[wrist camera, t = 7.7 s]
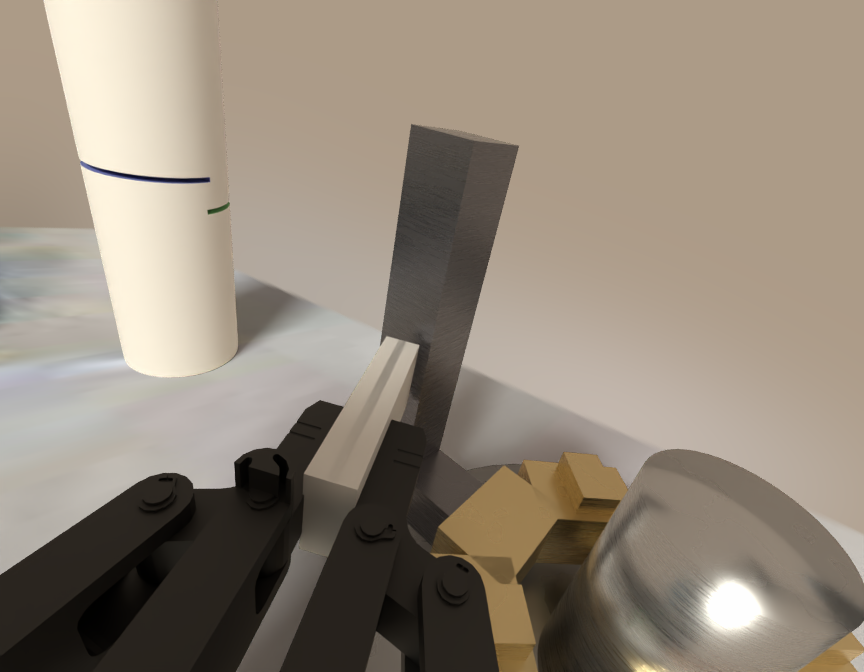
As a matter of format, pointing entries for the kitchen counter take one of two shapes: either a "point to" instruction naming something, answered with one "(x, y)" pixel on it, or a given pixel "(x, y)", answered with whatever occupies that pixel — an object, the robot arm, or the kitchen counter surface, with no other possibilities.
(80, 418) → the kitchen counter surface
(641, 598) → the flange
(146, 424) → the kitchen counter surface
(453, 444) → the kitchen counter surface
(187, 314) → the cylindrical container
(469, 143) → the geared hub with post
